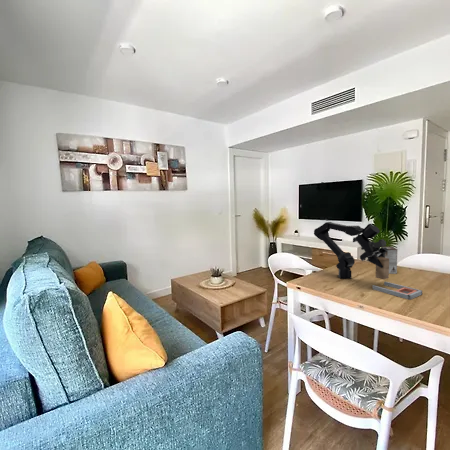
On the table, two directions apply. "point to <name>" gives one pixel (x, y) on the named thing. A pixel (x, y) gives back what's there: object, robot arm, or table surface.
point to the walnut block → (383, 269)
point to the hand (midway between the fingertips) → (385, 266)
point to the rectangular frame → (406, 291)
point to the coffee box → (392, 259)
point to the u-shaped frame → (395, 293)
